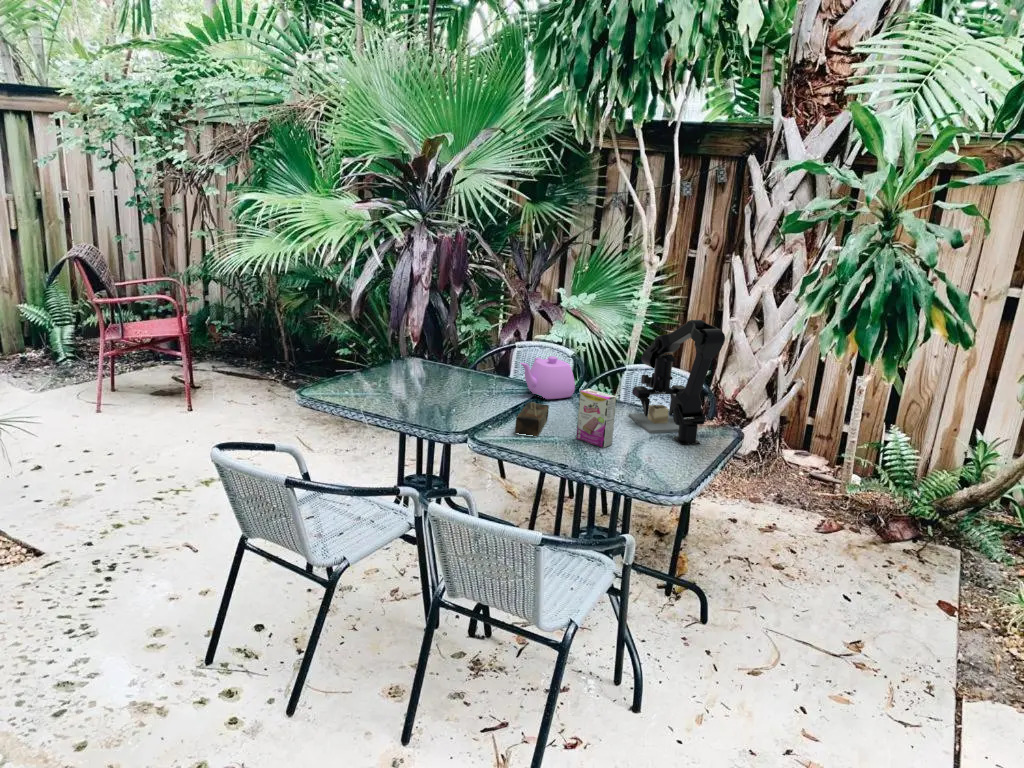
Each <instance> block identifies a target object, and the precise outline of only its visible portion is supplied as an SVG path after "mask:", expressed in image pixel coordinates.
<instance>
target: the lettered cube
mask: <svg viewBox="0 0 1024 768" xmlns="http://www.w3.org/2000/svg"><path fill="white" fill-rule="evenodd" d="M669 409H670V408H667V406H664V405H663V404H649V410H648V419H649V420H650V421H651V422H653V423H654V424H656V423H667V421H668V415H669Z"/></svg>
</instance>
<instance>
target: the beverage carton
mask: <svg viewBox="0 0 1024 768" xmlns="http://www.w3.org/2000/svg"><path fill="white" fill-rule="evenodd" d="M549 408H550V407H549V404H544V403H536V402H535V401H531V402H527V403H526V404H525V406H524V407H523V408H522V409H521V411H520V412H519V413H518V414H517V416H516V417H515V428H514V434H515V433H519V434H526V435H533V436H539V435H540V434H539V433H541V432H542V430H543V429H544V427H545V425H546V423H547V421H548V418H549ZM542 428H543V429H542Z"/></svg>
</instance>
